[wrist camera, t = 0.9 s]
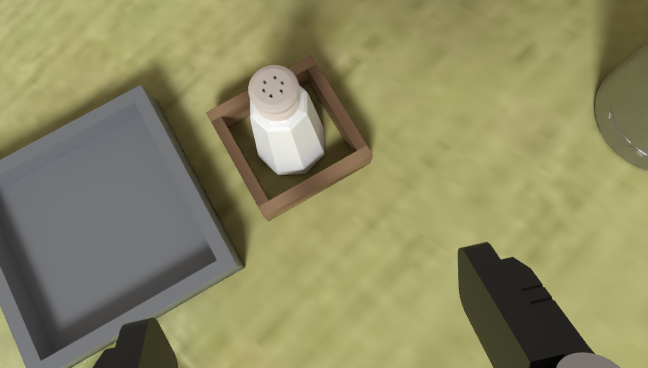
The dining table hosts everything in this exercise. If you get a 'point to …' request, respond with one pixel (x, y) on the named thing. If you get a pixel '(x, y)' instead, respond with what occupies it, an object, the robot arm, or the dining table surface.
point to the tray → (103, 232)
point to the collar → (358, 159)
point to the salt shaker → (284, 122)
